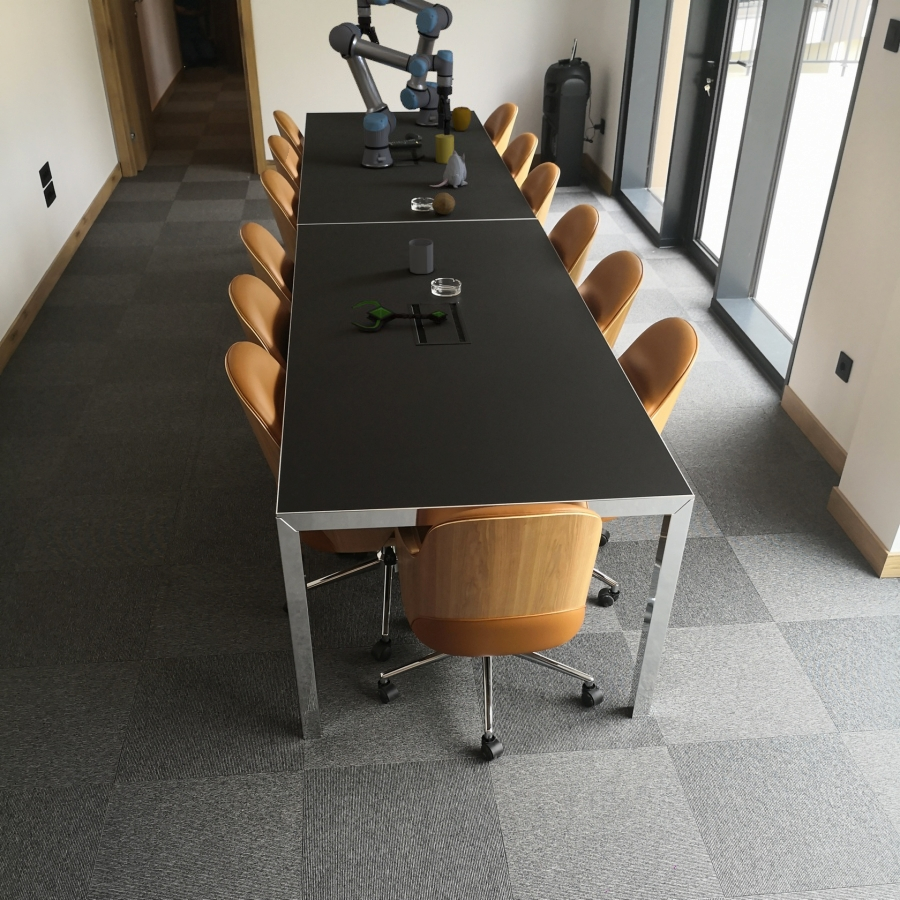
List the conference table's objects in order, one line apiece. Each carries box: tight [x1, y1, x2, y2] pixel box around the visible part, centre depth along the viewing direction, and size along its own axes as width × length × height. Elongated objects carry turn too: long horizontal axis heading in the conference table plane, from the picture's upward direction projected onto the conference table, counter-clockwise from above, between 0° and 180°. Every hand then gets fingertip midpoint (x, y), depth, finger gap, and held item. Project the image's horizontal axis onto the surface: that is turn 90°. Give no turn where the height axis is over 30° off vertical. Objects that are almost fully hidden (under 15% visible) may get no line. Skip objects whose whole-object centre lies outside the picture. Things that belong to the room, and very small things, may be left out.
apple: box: [451, 105, 472, 132], centre depth 487 cm, size 11×11×13 cm
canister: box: [434, 133, 455, 164], centre depth 431 cm, size 9×9×12 cm
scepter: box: [350, 299, 449, 332], centre depth 268 cm, size 6×13×30 cm
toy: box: [428, 149, 468, 189], centre depth 390 cm, size 9×24×15 cm, turn 137°
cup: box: [408, 237, 434, 275], centre depth 305 cm, size 8×8×10 cm
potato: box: [431, 192, 456, 216], centre depth 360 cm, size 10×14×8 cm
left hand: (443, 131), depth 427 cm, fingers open, 13 cm apart
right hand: (366, 57), depth 496 cm, fingers open, 13 cm apart
